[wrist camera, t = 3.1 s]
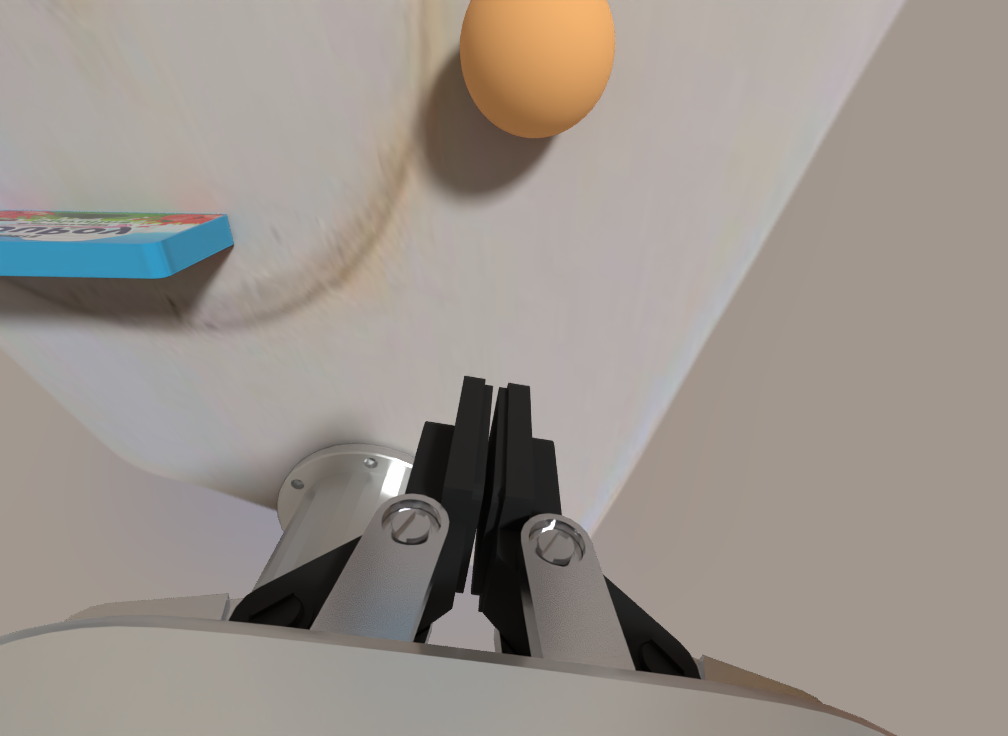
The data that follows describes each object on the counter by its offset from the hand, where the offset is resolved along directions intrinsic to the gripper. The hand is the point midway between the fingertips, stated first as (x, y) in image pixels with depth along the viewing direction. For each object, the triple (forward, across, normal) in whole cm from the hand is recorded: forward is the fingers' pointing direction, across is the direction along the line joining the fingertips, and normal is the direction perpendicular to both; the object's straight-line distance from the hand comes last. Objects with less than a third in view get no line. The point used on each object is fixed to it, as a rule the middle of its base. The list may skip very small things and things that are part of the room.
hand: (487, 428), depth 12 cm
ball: (+12, 0, -9) cm, 15 cm away
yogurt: (+16, +20, +2) cm, 26 cm away
